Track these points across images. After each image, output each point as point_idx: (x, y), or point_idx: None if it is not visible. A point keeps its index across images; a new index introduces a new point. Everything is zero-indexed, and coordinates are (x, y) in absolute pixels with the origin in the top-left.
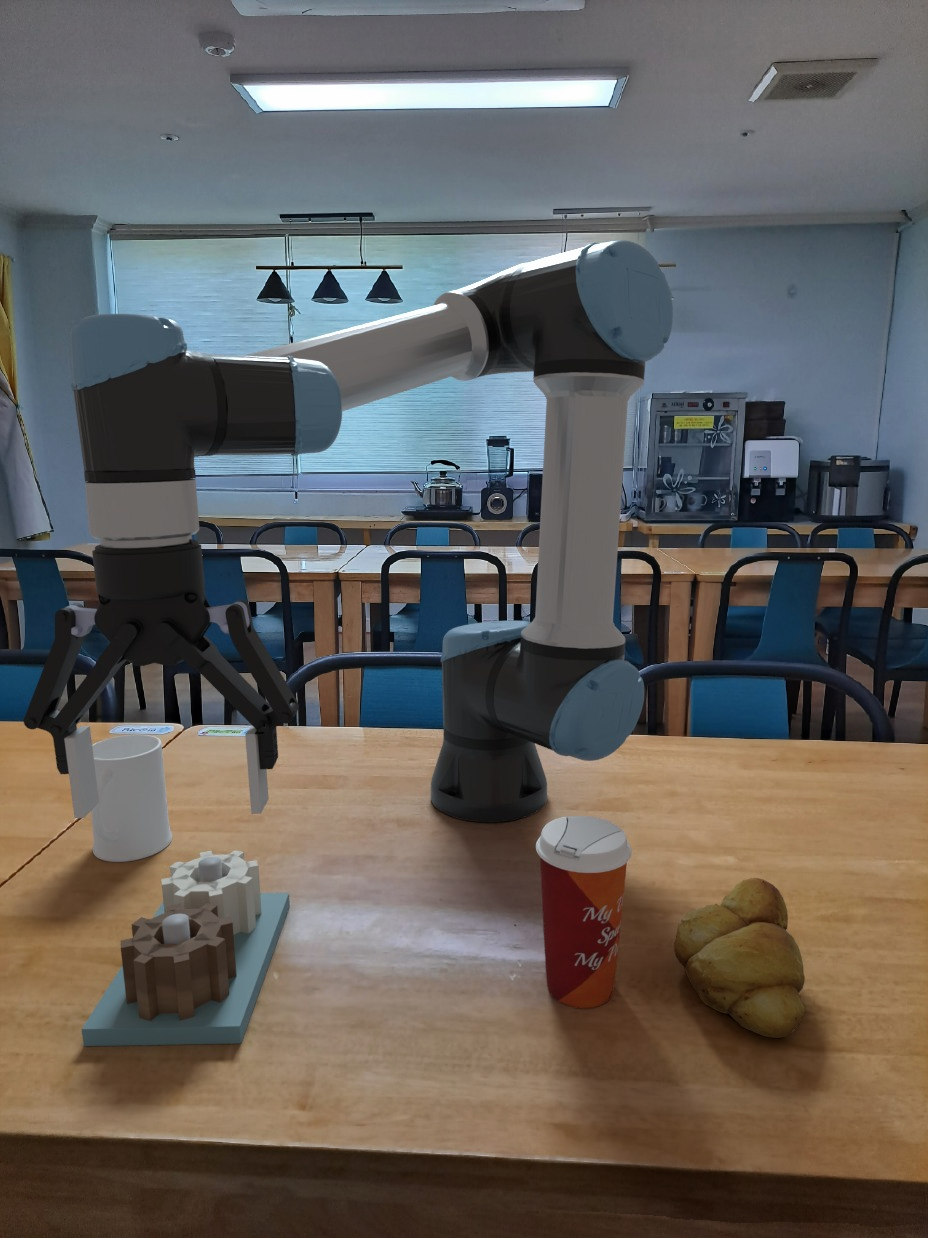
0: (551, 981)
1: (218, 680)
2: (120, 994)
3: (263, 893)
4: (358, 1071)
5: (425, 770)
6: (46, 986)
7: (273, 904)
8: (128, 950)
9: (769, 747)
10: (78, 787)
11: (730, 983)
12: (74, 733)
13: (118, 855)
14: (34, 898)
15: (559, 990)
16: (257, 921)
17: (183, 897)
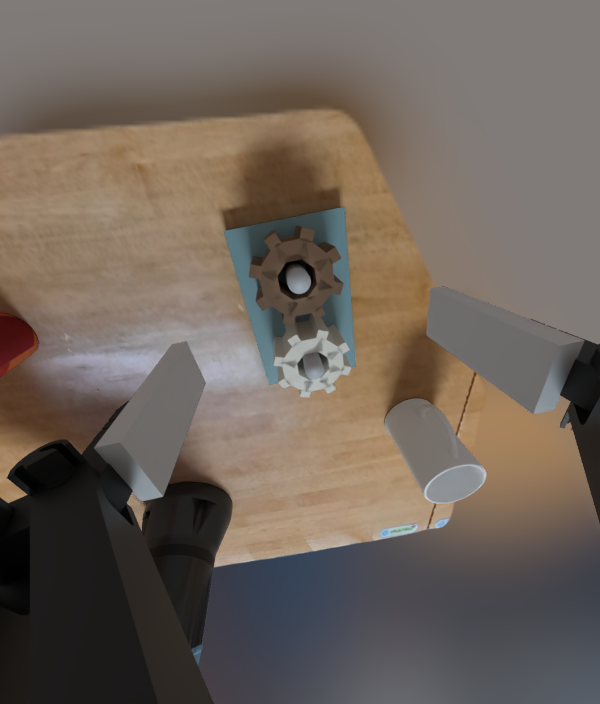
0: (11, 325)
1: (84, 673)
2: None
3: None
4: (121, 215)
5: (249, 522)
6: (398, 267)
7: (273, 370)
8: (329, 250)
9: None
10: (467, 302)
11: None
12: (563, 372)
13: (412, 402)
14: (450, 353)
15: (3, 318)
16: None
17: (318, 329)
